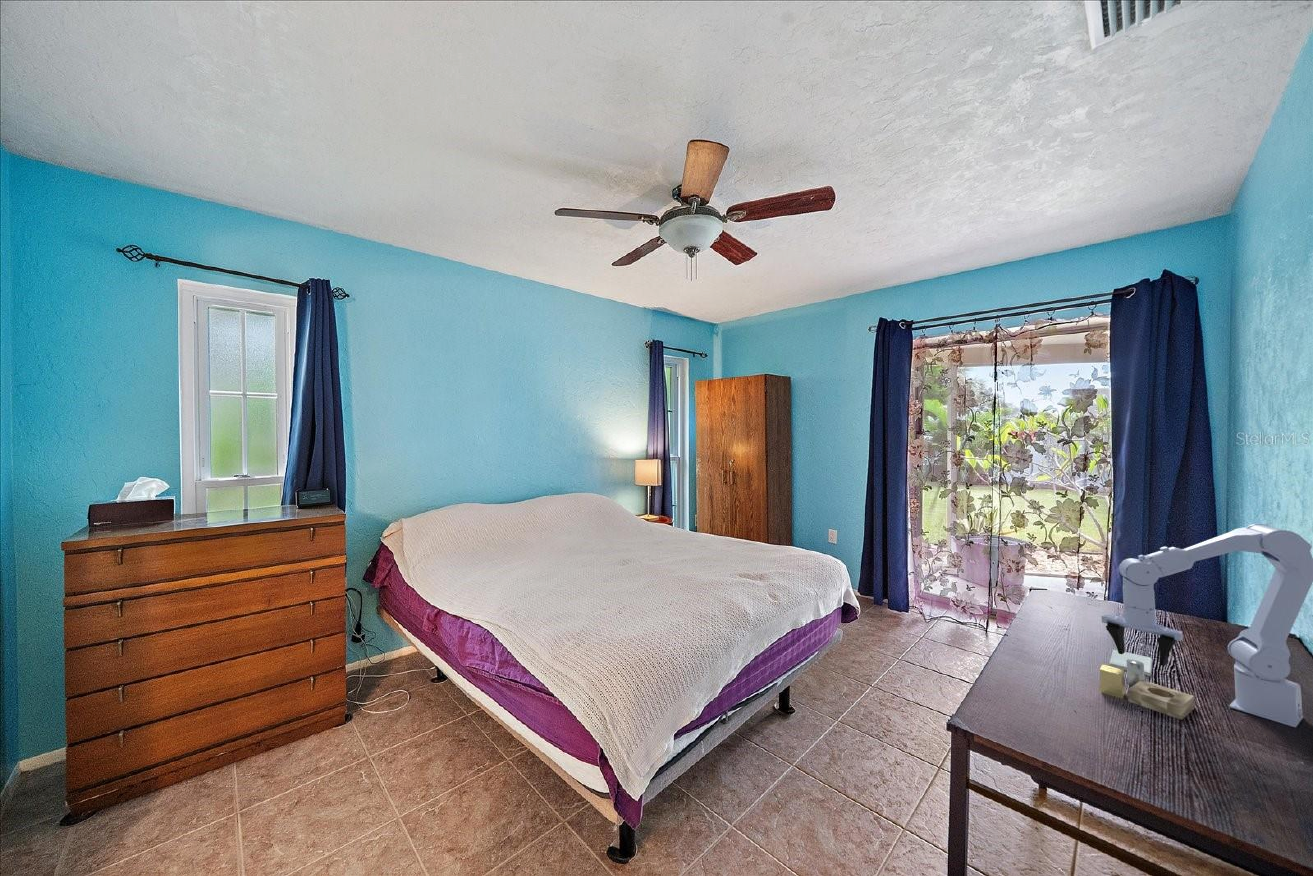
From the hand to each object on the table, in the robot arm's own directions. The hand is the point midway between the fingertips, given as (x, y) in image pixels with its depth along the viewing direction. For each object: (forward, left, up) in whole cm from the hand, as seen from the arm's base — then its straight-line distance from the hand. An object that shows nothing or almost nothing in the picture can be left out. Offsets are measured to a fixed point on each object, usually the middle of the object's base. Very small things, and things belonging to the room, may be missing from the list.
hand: (1141, 658), depth 119 cm
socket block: (-4, +5, -8) cm, 11 cm away
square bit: (+4, +8, -8) cm, 12 cm away
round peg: (+2, -2, -8) cm, 9 cm away
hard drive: (+7, -16, -9) cm, 20 cm away
